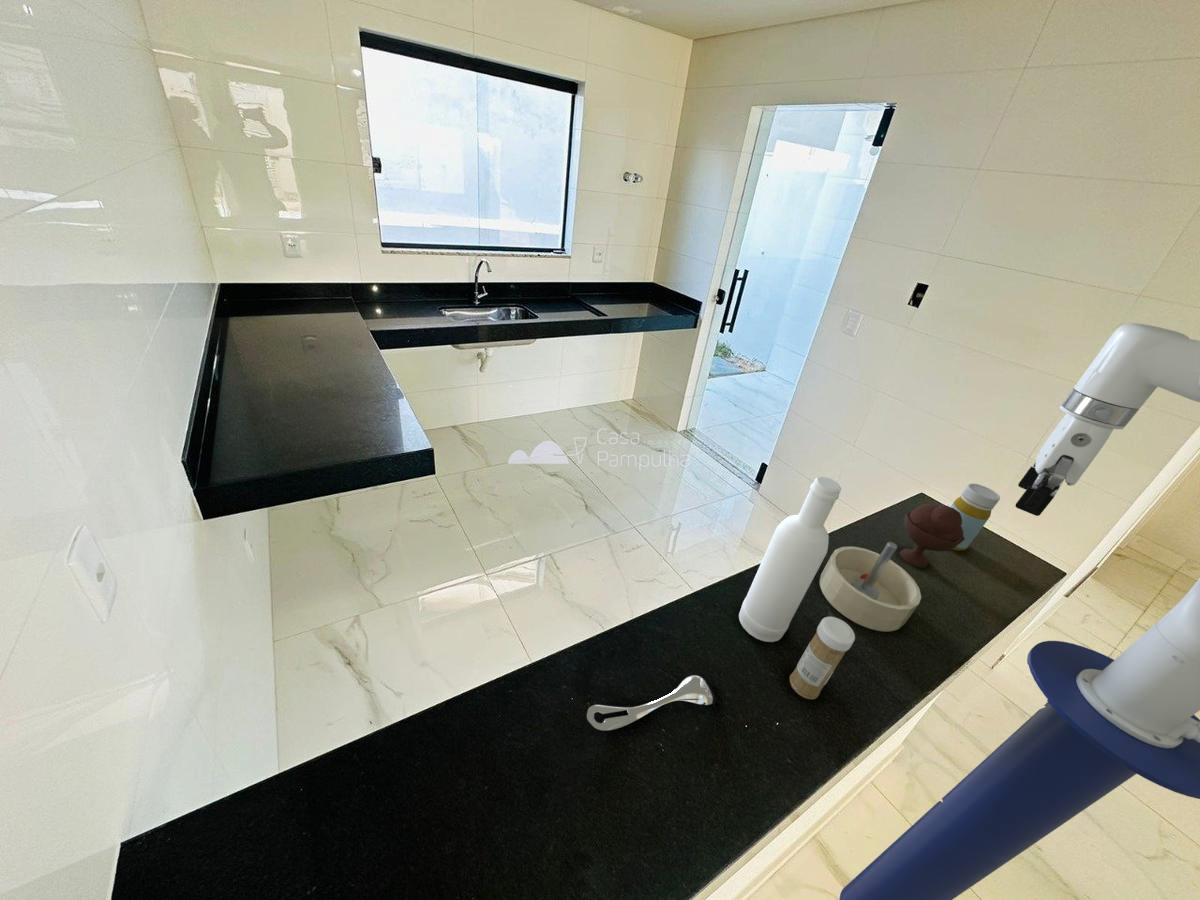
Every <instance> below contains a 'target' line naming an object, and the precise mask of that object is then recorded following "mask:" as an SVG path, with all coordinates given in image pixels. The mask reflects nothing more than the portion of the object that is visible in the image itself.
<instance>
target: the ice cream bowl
mask: <svg viewBox="0 0 1200 900" xmlns="http://www.w3.org/2000/svg"><path fill="white" fill-rule="evenodd" d="M903 521H904V522H903V524H904V527H905V530H906V533H907V535H908V537H909V539H910V540H911V541H912V542H913V543H915V546H914V548H913V549H911V548H903V549H901V550H900V551H899V555H900V558H901V559H903V560H904V561H905V562H906V563H907V564H910V565H911V566H913V567H916V568H926V567H927V566H928V560H927V558H926V557H925V556H924V555H923V553H924V551H925V550H926V551H934V552H949V551H951V550H952V549H953V548H955V547H956V546H957V545H959V544H960V543H961V542H962V541H963V540H965V538H964V536H963V529H962V527H961V525H962V517H961V515H960V512H958V511H957V510H955V509H954V508H952V507H951V506H949V505H936V504H930V503H925V504H924V503H923V504H921V505H918V506H917V507H916V508H914V509H911V510H909V511H907V512H906V513H905V515H904V519H903Z"/></svg>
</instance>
